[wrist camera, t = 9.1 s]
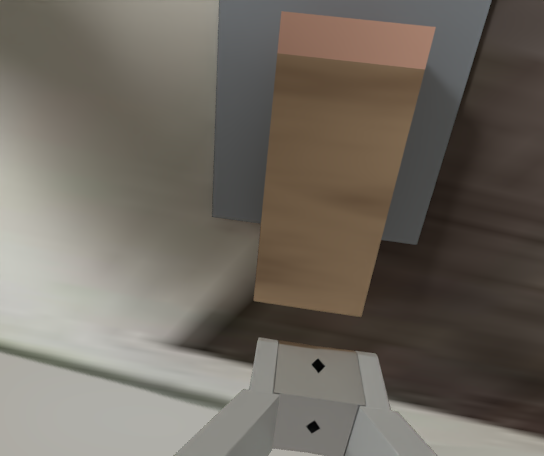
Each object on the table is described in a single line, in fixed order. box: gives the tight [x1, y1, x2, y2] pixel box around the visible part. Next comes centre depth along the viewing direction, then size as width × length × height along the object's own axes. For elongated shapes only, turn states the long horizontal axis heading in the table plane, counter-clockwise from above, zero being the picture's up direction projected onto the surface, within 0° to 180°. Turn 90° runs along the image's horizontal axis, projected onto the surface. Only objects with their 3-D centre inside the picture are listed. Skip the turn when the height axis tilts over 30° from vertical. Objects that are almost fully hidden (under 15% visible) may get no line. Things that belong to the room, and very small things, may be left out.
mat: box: [212, 0, 492, 245], centre depth 21 cm, size 16×14×1 cm
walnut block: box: [254, 11, 436, 317], centre depth 20 cm, size 6×6×14 cm
